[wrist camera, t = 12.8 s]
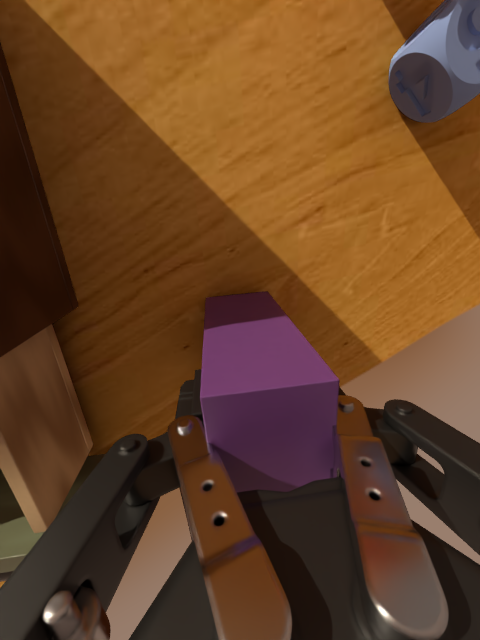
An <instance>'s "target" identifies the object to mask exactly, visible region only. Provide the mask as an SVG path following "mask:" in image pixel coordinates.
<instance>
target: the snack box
mask: <svg viewBox="0 0 480 640" xmlns="http://www.w3.org/2000/svg"><path fill="white" fill-rule="evenodd" d="M338 394H339V379H338V377H337V376H336V375H335V374H334V373H333V371H332V370H331V369H330V368H329V366H328V365H327V364H326V363H325V362H324V360H323V359H322V358H321V357H320V355H319V354H318V353H317V352H316V350H315V349H314V348H313V347H312V346H311V344H310V343H309V342H308V341H307V339H306V338H305V337H304V336H303V335H302V333H301V332H300V331H299V330H298V328H297V327H296V326H295V325H294V323H293V322H292V321H291V320H290V319H289V317H288V316H287V315H286V314H285V312H284V311H283V310H282V309H281V308H280V306H279V305H278V304H277V303H276V301H275V300H274V299H273V298H272V296H271V295H270V294H269V293H268V292H267V291H266V292H256V293H246V294H237V295H227V296H217V297H207V298H206V302H205V319H204V336H203V354H202V371H201V388H200V401H201V408H202V414H203V421H204V427H205V434H206V440H207V443H211V445H212V448H213V450H214V451H218V453H219V455H220V457H221V459H222V462H223V464H224V466H225V468H226V470H227V473H228V475H229V477H230V479H231V482H232V484H233V486H234V488H235V490H236V493H237V492H243V491H250V490H256V489H260V490H270V491H281V492H289V491H292V490H294V489H296V488H298V487H301V486H303V485H305V484H308V483H310V482H312V481H315V480H322V479H328V478H330V469H331V468H333V467H334V447H333V440H332V426H333V425H337V411H338Z"/></svg>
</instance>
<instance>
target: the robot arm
mask: <svg viewBox="0 0 480 640" xmlns="http://www.w3.org/2000/svg"><path fill="white" fill-rule="evenodd" d="M201 371H202V369H199V370H195V378H194V380H188V381H185V382H184V384H183V385H182V386H181V389H180V395H179V401H178V406H177V411H176V417H175V420H174V421H172V422H171V423H170V425H169V426H168V430H167V432H166V433H165V434H163V435H161V436H159V437H156V438H153V439H151V440H148V441H147V438H146V437H145V436H144V435H141V434H131V435H127V436H125V437H123V438H121V439H119V440H118V441H117V442H115V443H114V444H113V446H112V447H111V448H110V449H109V451H108V452H107V453H106V454H105V456H104V457H103V458H102V460H101V461H100V462H99V463H98V465H97V466H96V467H95V468H94V470H93V471H92V472H91V474H90V475H89V476H88V477H87V479H86V480H85V481H84V482H83V484H82V485H81V486H80V488H79V489H78V490H77V491H76V493H75V494H74V495H73V496H72V498H71V499H70V500H69V502H68V503H67V504H66V505H65V507H64V508H63V509H62V510H61V512H60V513H59V514H58V516H57V517H56V518H55V519H54V521H53V522H52V523H51V524H50V526H49V527H48V528H47V530H46V531H45V532H44V533H43V535H42V536H41V537H40V538H39V540H38V541H37V542H36V544H35V545H34V546H33V547H32V549H31V550H30V551H29V552H28V554H27V555H26V556H25V558H24V559H23V560H22V561H21V563H20V564H19V565H18V566H17V568H16V569H15V570H14V571H13V573H12V574H11V575H10V577H9V578H8V579H7V580H6V582H5V583H4V584H3V585H2V587H1V588H0V640H109V639H110V623H109V620H108V617H107V615H106V611H107V609H108V607H109V605H110V602H111V600H112V598H113V596H114V594H115V592H116V590H117V588H118V586H119V584H120V581H121V579H122V577H123V575H124V573H125V571H126V569H127V567H128V564H129V562H130V560H131V558H132V556H133V554H134V552H135V549H136V548H137V545H138V543H139V541H140V539H141V537H142V535H143V533H144V531H145V528H146V526H147V524H148V522H149V520H150V518H151V516H152V514H153V512H154V510H155V507H156V505H157V503H158V501H159V499H160V496H162V495H164V494H166V493H168V492H170V491H172V490H175V489H177V488H180V492H181V496H182V500H183V504H184V508H185V512H186V517H187V521H188V526H189V530H190V534H191V539H192V542H191V544H190V545H189V547H188V548H187V550H186V552H185V553H184V555H183V556H182V558H181V559H180V561H179V562H178V564H177V565H176V567H175V569H174V570H173V572H172V573H171V575H170V577H169V578H168V580H167V581H166V583H165V584H164V586H163V587H162V589H161V590H160V592H159V593H158V595H157V597H156V598H155V600H154V601H153V603H152V605H151V606H150V607H149V609H148V610H147V612H146V614H145V615H144V617H143V618H142V620H141V621H140V623H139V624H138V626H137V627H136V629H135V631H134V632H133V634H132V635H131V637H130V638H129V640H480V565H479V564H478V563H476V562H474V561H473V560H472V559H470V558H469V557H467V556H466V555H464V554H463V553H461V552H459V551H458V550H456V549H455V548H453V547H452V546H450V545H449V544H447V543H446V542H444V541H443V540H441V539H440V538H438V537H437V536H435V535H434V534H432V533H431V532H429V531H428V530H426V529H425V528H423V527H422V526H420V525H419V524H417V523H415V522H414V521H413V520H411V519H410V517H409V514H408V511H407V508H406V506H405V503H404V500H403V498H402V495H401V492H400V489H399V487H398V484H397V481H396V479H397V480H398V481H399V482H400V483H401V484H402V485H403V486H404V487H405V488H407V489H408V490H409V491H410V492H411V493H412V494H413V495H414V496H415V497H416V498H417V499H419V500H420V501H421V502H422V503H423V504H424V505H425V506H426V507H427V508H429V509H430V510H431V511H432V512H433V513H434V514H435V515H436V516H437V517H438V518H439V519H440V520H442V521H443V522H444V523H445V524H446V525H447V526H448V527H449V528H450V529H451V530H453V531H454V532H455V533H456V534H457V535H458V536H459V537H460V538H461V539H463V541H465V542H466V543H467V544H468V545H469V546H470V547H471V548H472V549H473V550H474V551H475V552H477V553H478V554H479V555H480V443H478V442H476V441H475V440H473V439H471V438H470V437H468V436H466V435H465V434H463V433H461V432H460V431H458V430H456V429H455V428H453V427H451V426H450V425H448V424H446V423H445V422H443V421H441V420H440V419H438V418H436V417H435V416H433V415H431V414H430V413H428V412H426V411H425V410H423V409H421V408H420V407H418V406H416V405H415V404H413V403H411V402H408V401H404V400H390V401H388V402H386V403H385V406H384V409H373V408H366V407H363V404H362V403H361V402H360V401H359V400H357V399H356V398H353V397H351V396H346V395H345V393H344V392H343V391H342V390H341V388H340V387H339V394H338V411H337V425H333V426H332V440H333V447H334V467H333V468H331V469H330V478H328V479H322V480H315V481H312V482H310V483H308V484H305V485H303V486H301V487H298V488H296V489H294V490H292V491H289V492H281V491H270V490H260V489H256V490H250V491H243V492H237V493H236V490H235V488H234V486H233V484H232V482H231V479H230V477H229V475H228V473H227V470H226V468H225V466H224V464H223V462H222V459H221V457H220V455H219V453H218V451H214V450H213V448H212V445H211V443H207V440H206V434H205V427H204V421H203V414H202V408H201V401H200V388H201ZM418 447H419V448H420V449H422V450H423V451H424V452H425V453H427V454H428V455H429V456H431V457H432V458H434V459H435V460H436V461H437V462H438V463H439V464H440V465H441V466H442V468H443V470H444V474H445V475H444V474H443V473H441V472H440V471H439V470H438V469H436V468H435V467H434V466H432V465H431V464H430V463H428V462H427V461H426V460H425V459H423V458H422V457H420V456H419V455H418V454H417V449H418Z"/></svg>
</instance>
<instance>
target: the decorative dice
mask: <svg viewBox="0 0 480 640" xmlns="http://www.w3.org/2000/svg"><path fill="white" fill-rule="evenodd" d="M389 89H390V94H391V96H392V99H393V101H394V103H395V104H396V106H397V107H398V109H399V110H400V111H401V112H402V113H403V114H404V115H406V116H407V117H409V118H410V119H413V120H415V121H418V122H435V121H438V120H440V119H442V118H444V117H446V116H448V115H450V114H451V113H453V112H455V111H456V110H458V109H459V108H461V107H462V106H463V105H465V104H466V103H468V102H469V101H470V100H472V99H473V98H474V97H476V96H477V95H478V94H479V93H480V0H444V1H443V2H442V3H441V4H440V5H439V7H438V8H437V9H436V10H435V11H434V12H433V13H432V14H431V15H430V16H429V17H428V18H427V19H426V20H425V21H424V22H423V23H422V24H421V25H420V26H419V27H418V29H417V30H416V31H415V32H414V33H413V34H412V35H411V36H410V37H409V38H408V40H407V41H406V42H405V43H404V44H403V45H402V46H401V48H400V49H399V50H398V51H397V52H396V54H395V55H394V56H393V58H392V59H391V64H390V70H389Z"/></svg>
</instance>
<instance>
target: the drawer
mask: <svg viewBox="0 0 480 640" xmlns="http://www.w3.org/2000/svg"><path fill="white" fill-rule="evenodd" d="M92 446H93V442H92V439H91V436H90V433H89V430H88V428H87V425H86V422H85V419H84V416H83V413H82V410H81V407H80V404H79V401H78V398H77V395H76V392H75V389H74V387H73V384H72V381H71V378H70V375H69V372H68V369H67V366H66V363H65V360H64V357H63V354H62V351H61V348H60V346H59V343H58V340H57V337H56V334H55V331H54V328H53V325H52V324H51V325H49V326H48V327H46V328H45V329H43V330H42V331H40V332H39V333H37V334H36V335H34V336H33V337H31V338H29V339H28V340H26V341H25V342H23V343H22V344H20V345H19V346H17V347H16V348H14V349H13V350H11V351H10V352H8V353H6V354H5V355H3V356H2V357H0V582H1V581H6V580H7V579H8V578H9V577H10V575H11V574H12V573H13V571H14V570H15V569H16V568H17V566H18V565H19V564H20V563H21V561H22V560H23V559H24V558H25V556H26V555H27V554H28V552H29V551H30V550H31V549H32V547H33V546H34V545H35V544H36V542H37V541H38V540H39V538H40V537H41V536H42V535H43V533H44V532H45V531H46V530H47V528H48V527H49V526H50V524H51V523H52V522H53V521H54V519H55V518H56V517H57V516H58V514H59V513H60V512H61V510H62V509H63V508H64V507H65V505H66V504H67V503H68V502H69V500H70V499H71V498H72V496H73V495H74V494H75V493H76V491H77V490H78V489H79V488H80V486H81V485H82V484H83V482H84V481H85V480H86V479H87V477H88V476H89V475H90V474H91V472H92V471H93V470H94V468H95V467H96V466H97V465H98V463H99V462H100V461H101V460H102V458H103V457H104V456H105V454H100V455H93V456H88V454H89V452H90V450H91V448H92Z"/></svg>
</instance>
